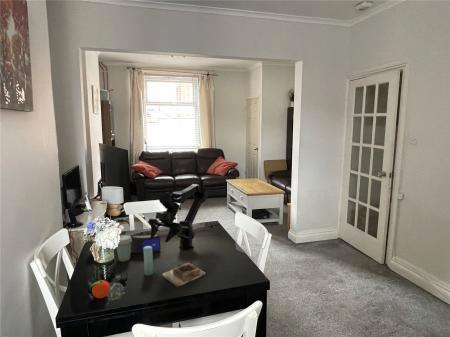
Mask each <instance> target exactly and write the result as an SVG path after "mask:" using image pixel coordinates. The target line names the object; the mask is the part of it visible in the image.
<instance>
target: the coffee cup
mask: <svg viewBox="0 0 450 337" xmlns="http://www.w3.org/2000/svg"><path fill="white" fill-rule="evenodd" d="M119 236H120V242H119V244H118V247H117V248H116V252H117V258H118V261H119V262H127V261H129V260H130V259H131V252H132V251H131V241H132V238H131V237H132V236H131V235H128V234H122V235H119Z"/></svg>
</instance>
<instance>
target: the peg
mask: <svg viewBox="0 0 450 337" xmlns="http://www.w3.org/2000/svg"><path fill="white" fill-rule="evenodd" d="M143 250H144V254H143V262H144V263H143V268H144V276H145V275H146V276H151V275H153V274H154V264H153V262H154V260H153V259H154V258H153V253H152V246H145V247H144V248H143Z"/></svg>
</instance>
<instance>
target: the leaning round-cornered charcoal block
mask: <svg viewBox="0 0 450 337" xmlns="http://www.w3.org/2000/svg"><path fill="white" fill-rule="evenodd" d="M150 237H151V234H150V235H149V234H148V235H133V236H131V238H132V241H131V252H132V253H133V254H138V255H139V254H140V255H142V254H143V255H144V250H143V248H144V247H145V246H152V254H154V253H157V252H159V251H160V250H161V248H162V247H161V236H160V235H159V234H155V236H154V237H153V239H150Z"/></svg>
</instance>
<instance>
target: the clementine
mask: <svg viewBox="0 0 450 337" xmlns="http://www.w3.org/2000/svg"><path fill="white" fill-rule="evenodd" d="M91 287H92V289H91ZM90 289H91V292H92V296H93V297H95V298H97V299H103V298H105V297H107V296H108V294H109V293H110V290H111V285H110V283H109V282H108V281H107V280H103V279H102V280H98V281H95V282H93V283H92V284H91V285H90V286H89V290H90Z"/></svg>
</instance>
